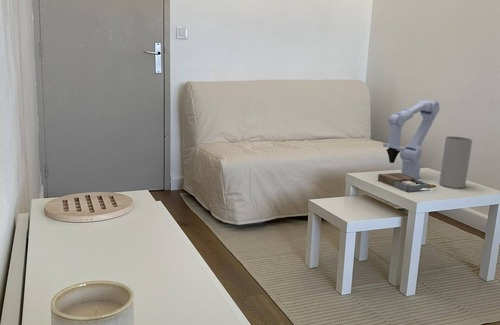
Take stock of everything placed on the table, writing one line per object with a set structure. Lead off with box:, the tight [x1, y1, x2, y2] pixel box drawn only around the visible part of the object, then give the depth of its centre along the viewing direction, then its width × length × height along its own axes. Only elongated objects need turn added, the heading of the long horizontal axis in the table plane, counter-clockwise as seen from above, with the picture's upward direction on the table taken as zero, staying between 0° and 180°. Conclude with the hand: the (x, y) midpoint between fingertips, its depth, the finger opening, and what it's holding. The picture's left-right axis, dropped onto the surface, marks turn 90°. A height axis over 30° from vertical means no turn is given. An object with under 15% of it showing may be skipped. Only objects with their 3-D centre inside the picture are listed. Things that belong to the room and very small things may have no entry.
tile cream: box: [402, 181, 415, 186], centre depth 241 cm, size 5×4×2 cm
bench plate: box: [377, 172, 415, 188], centre depth 248 cm, size 14×12×4 cm
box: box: [393, 179, 431, 193], centre depth 238 cm, size 14×10×3 cm
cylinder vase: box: [439, 135, 473, 189], centre depth 246 cm, size 12×12×25 cm
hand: (391, 162), depth 252 cm, fingers closed
